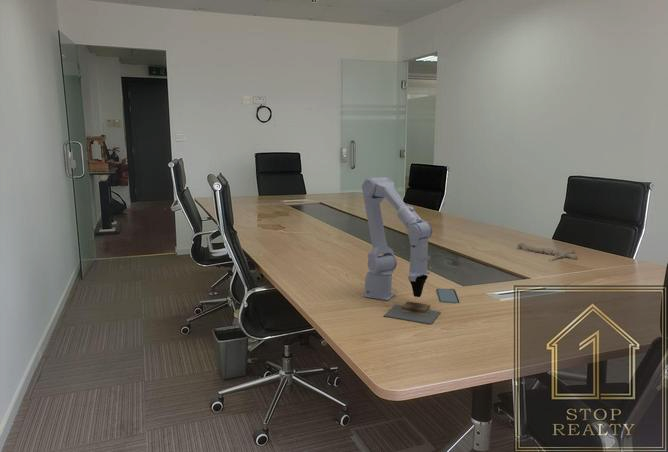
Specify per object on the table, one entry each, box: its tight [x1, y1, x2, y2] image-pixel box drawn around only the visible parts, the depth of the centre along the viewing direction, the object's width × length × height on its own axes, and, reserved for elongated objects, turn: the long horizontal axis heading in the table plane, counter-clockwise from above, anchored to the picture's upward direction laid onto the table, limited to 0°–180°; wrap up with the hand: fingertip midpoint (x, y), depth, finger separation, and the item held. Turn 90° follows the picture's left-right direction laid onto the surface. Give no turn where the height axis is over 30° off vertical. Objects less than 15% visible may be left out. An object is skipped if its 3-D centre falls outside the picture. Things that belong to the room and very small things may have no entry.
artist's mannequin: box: [516, 242, 578, 262], centre depth 254 cm, size 28×4×30 cm
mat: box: [383, 304, 442, 325], centre depth 166 cm, size 16×12×1 cm
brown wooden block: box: [401, 301, 431, 315], centre depth 170 cm, size 8×2×6 cm
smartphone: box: [435, 288, 461, 304], centre depth 186 cm, size 7×1×15 cm
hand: (417, 296), depth 170 cm, fingers closed
